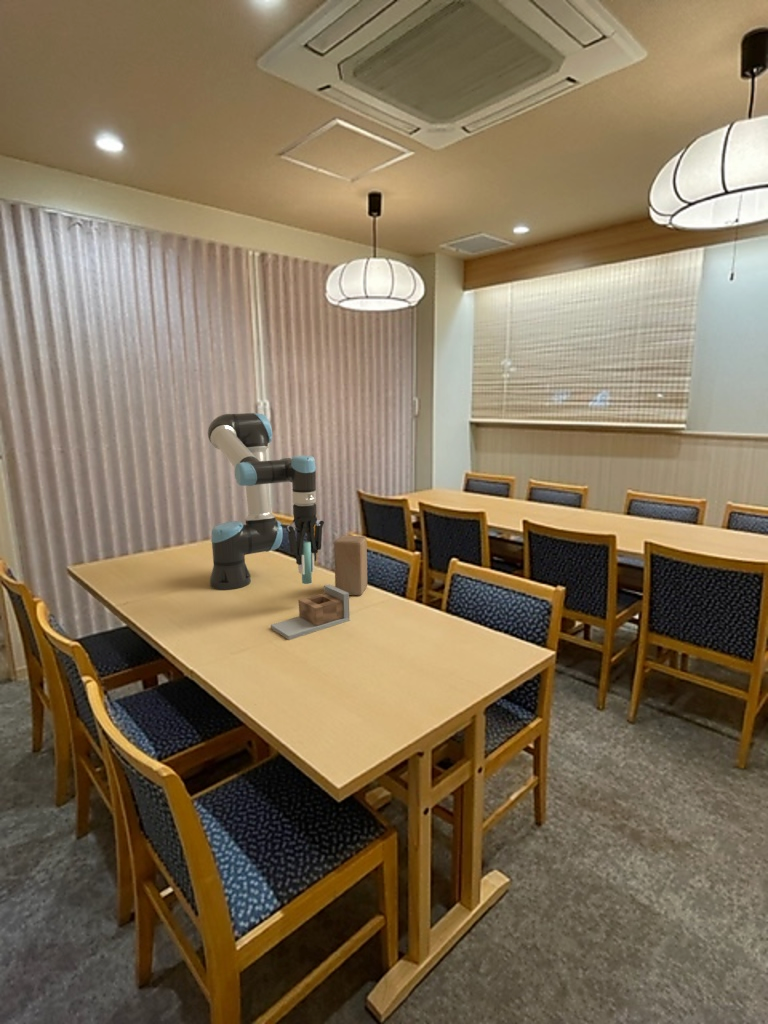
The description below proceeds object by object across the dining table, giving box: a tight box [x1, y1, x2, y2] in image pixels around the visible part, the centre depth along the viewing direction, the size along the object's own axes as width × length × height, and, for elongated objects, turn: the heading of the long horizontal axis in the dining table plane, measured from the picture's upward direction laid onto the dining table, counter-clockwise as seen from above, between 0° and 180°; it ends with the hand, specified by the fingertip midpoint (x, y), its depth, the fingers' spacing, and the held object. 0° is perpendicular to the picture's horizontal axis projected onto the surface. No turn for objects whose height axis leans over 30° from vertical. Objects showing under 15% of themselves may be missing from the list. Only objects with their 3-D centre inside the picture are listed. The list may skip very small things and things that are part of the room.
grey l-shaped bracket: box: [270, 584, 351, 641], centre depth 171 cm, size 11×22×9 cm, turn 130°
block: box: [333, 534, 368, 596], centre depth 200 cm, size 10×10×20 cm
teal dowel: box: [301, 540, 313, 585], centre depth 183 cm, size 3×3×14 cm
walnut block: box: [298, 592, 343, 626], centre depth 173 cm, size 10×10×6 cm
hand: (306, 572), depth 183 cm, fingers closed on teal dowel, 3 cm apart
